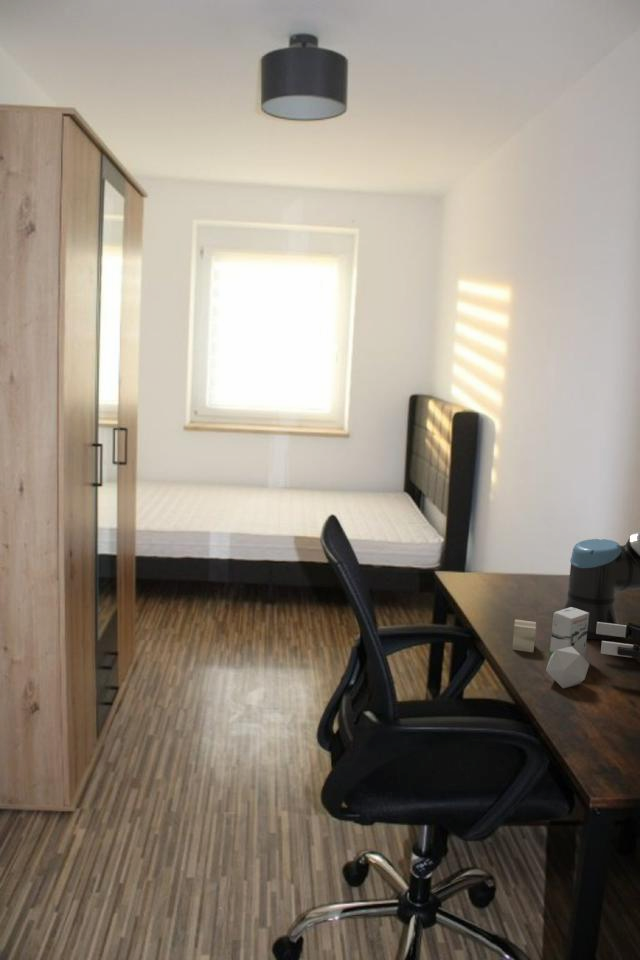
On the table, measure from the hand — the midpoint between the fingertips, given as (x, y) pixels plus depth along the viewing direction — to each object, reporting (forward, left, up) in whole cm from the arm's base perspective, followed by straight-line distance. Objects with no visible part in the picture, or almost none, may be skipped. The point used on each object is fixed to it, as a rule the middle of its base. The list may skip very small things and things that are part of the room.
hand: (598, 637), depth 191 cm
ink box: (-1, -7, -7) cm, 10 cm away
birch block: (-6, -17, -7) cm, 19 cm away
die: (+14, -7, -7) cm, 17 cm away
